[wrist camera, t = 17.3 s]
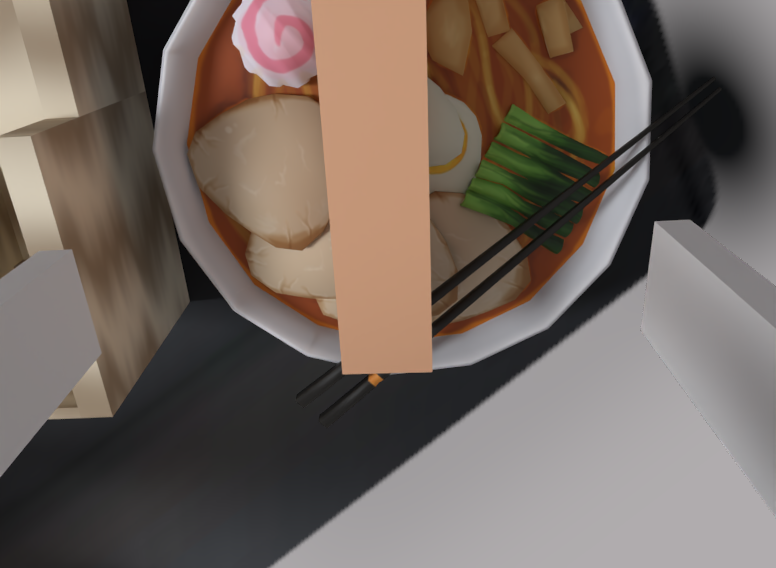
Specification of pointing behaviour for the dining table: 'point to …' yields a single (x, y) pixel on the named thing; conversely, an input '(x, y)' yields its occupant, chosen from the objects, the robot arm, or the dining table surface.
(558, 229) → the ramen bowl
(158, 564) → the dining table surface
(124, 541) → the dining table surface
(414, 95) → the tan block
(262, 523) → the dining table surface
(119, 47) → the box
